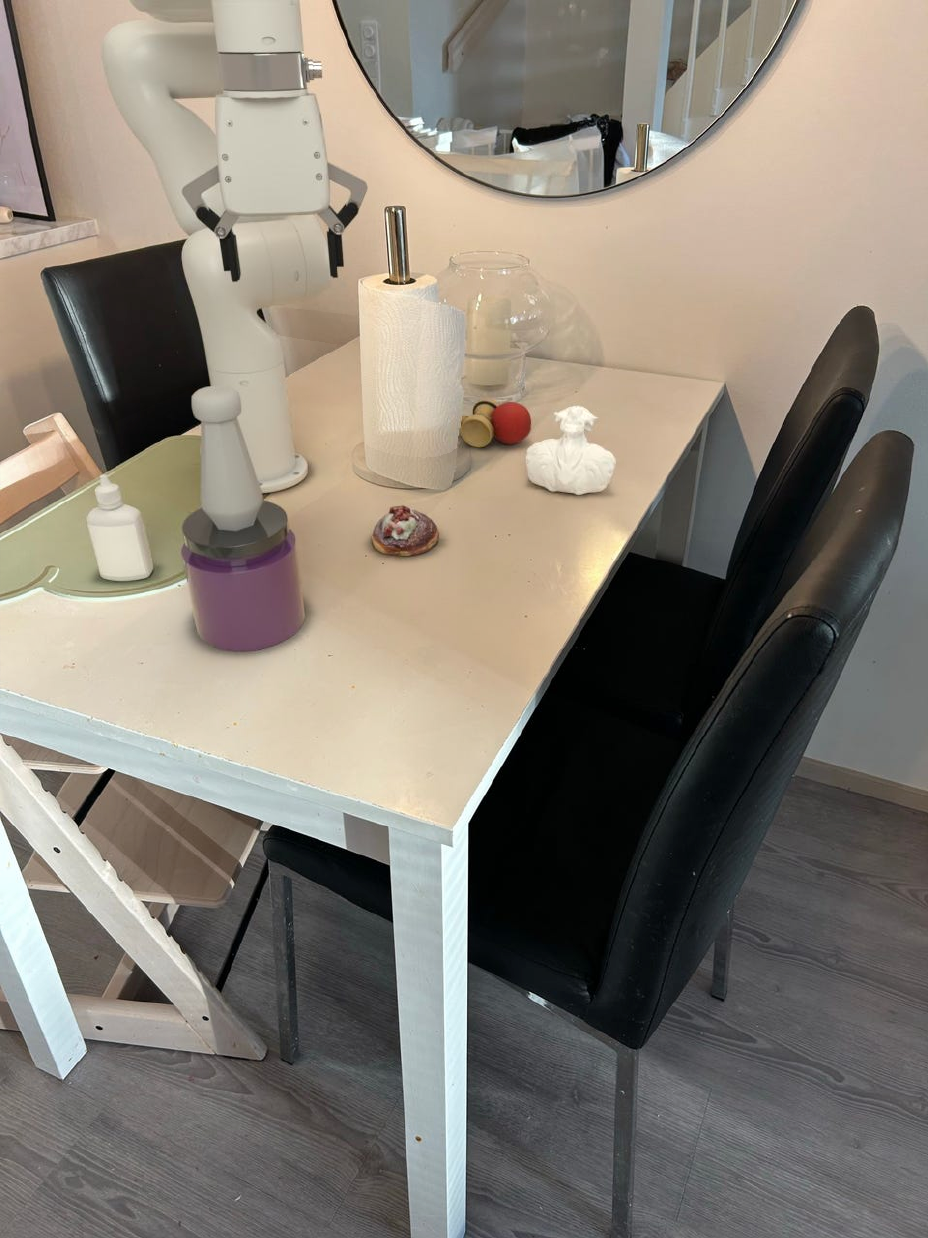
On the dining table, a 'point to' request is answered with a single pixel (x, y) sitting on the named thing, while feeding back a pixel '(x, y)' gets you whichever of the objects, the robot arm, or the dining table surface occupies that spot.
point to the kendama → (495, 423)
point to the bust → (570, 457)
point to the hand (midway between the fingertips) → (285, 276)
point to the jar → (243, 580)
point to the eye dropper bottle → (118, 536)
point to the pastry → (404, 532)
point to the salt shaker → (225, 461)
